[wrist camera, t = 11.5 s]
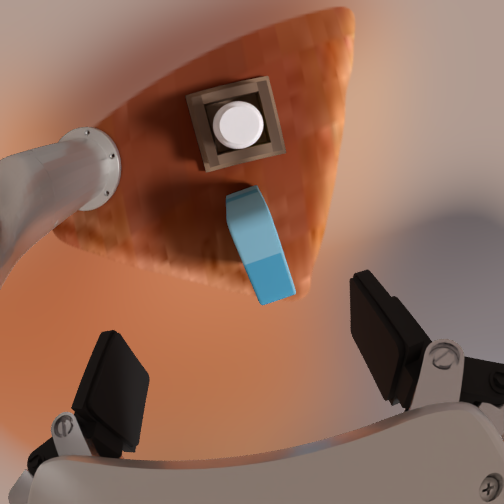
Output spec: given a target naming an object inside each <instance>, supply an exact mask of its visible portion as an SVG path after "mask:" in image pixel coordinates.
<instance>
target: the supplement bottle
mask: <svg viewBox="0 0 504 504" xmlns="http://www.w3.org/2000/svg"><path fill="white" fill-rule="evenodd" d="M213 130H214V134H215V136H216V138H217V139H218V140H219V141H220V142H221V143H222V144H223V145H225V146H227V147H229V148H233V149H243V148H246V147H249V146H251V145H252V144H254V143H255V142H256V141H257V140H258V139H259V137H260V136H261V134H262V131H263V119H262V116H261V114H260V112H259V111H258V110H257V108H255V107H254V106H253V105H251V104H249V103H247V102H243V101H235V102H230V103H228V104H226V105H224V106H223V107H221V108H220V109H219V110H218V112H217V113H216V115H215V117H214V120H213Z"/></svg>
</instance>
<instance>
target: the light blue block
mask: <svg viewBox="0 0 504 504" xmlns="http://www.w3.org/2000/svg"><path fill="white" fill-rule="evenodd" d="M226 218H227V224H228V228H229V231H230V233H231V236H232V238H233V241H234V243H235V246H236V248H237V251H238V253H239V255H240V258H241V260H242V263H243V265H244V267H245V270H246V272H247V274H248V277H249V279H250V282H251V284H252V286H253V289H254V291H255V293H256V296H257V298H258V301H259V303H260V304H261V305H265V304H268V303H271V302H274V301H277V300H280V299H283V298H286V297H289V296H292V295H294V294H296V290H295V287H294V284H293V281H292V277H291V274H290V271H289V268H288V265H287V262H286V259H285V256H284V253H283V250H282V247H281V243H280V240H279V237H278V234H277V231H276V228H275V225H274V222H273V220H272V217H271V214H270V211H269V209H268V206H267V204H266V202H265V200H264V198H263V196H262V194H261V192H260V190H259V188H258V186H257V185H255V186H252V187H249V188H246V189H243V190H241V191H238V192H235V193H232V194H230V195H227V196H226Z"/></svg>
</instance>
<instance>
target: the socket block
mask: <svg viewBox="0 0 504 504" xmlns="http://www.w3.org/2000/svg"><path fill="white" fill-rule="evenodd" d="M185 97H186V101H187V105H188V108H189V112H190V116H191V119H192V123H193V127H194V130H195V134H196V138H197V141H198V145H199V148H200V152H201V156H202V159H203V163H204V166H205V170H206V173H207V172H210V171H214V170H218V169H221V168H225V167H229V166H233V165H237V164H241V163H245V162H249V161H253V160H257V159H261V158H266V157H270V156H275V155H279V154H284V153H286V149H285V145H284V140H283V136H282V131H281V127H280V122H279V118H278V114H277V109H276V105H275V101H274V97H273V93H272V89H271V85H270V81H269V77H268V76H265V77H259V78H254V79H249V80H244V81H239V82H235V83H230V84H226V85H222V86H218V87H214V88H210V89H207V90H203V91H199V92H196V93H192V94H189V95H186V96H185ZM235 101H243V102H247V103H249V104H251V105H253V106H254V107H255V108H257V110H258V111H259V112H260V114H261V116H262V119H263V131H262V134H261V136H260V137H259V139H258V140H257V141H256V142H255V143H254V144H252V145H251V146H249V147H246V148H243V149H233V148H229V147H227V146H225V145H223V144H222V143H221V142H220V141H219V140H218V139H217V138H216V136H215V134H214V130H213V120H214V117H215V115H216V113H217V112H218V110H219V109H220V108H221V107H223V106H224V105H226V104H228V103H230V102H235Z"/></svg>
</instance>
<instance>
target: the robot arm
mask: <svg viewBox="0 0 504 504" xmlns="http://www.w3.org/2000/svg"><path fill="white" fill-rule="evenodd" d="M89 131H90V134H89ZM113 154H114V155H115V157H113ZM120 176H121V159H120V155H119V151H118V149H117V147H116V145H115V143H114V142H113V140H112V139H111V138H110V137H109V136H108V135H107V134H106V133H105V132H103V131H101V130H99V129H96V128H93V127H81V128H77V129H73V130H72V131H70V132H68V133H67V134H65V135H64V136H63V137H62V138H61V139H60V141H59V142H58V143H54V144H50V145H46V146H42V147H38V148H35V149H31V150H28V151H24V152H20V153H17V154H14V155H10V156H8V157H6V158H4V159H2V160H0V289H1V287H2V285H3V283H4V282H5V280H6V278H7V276H8V275H9V273H10V271H11V270H12V268H13V267H14V265H15V264H16V263H17V262H18V260H19V259H20V258H21V257H22V256H23V255H24V254H25V253H26V252H27V251H28V250H29V249H30V248H31V247H32V246H33V245H34V244H35V243H36V242H38V241H39V240H40V239H41V238H42V237H44V236H45V235H46V234H47V233H49V232H50V231H51V230H52V229H54V228H55V227H56V226H57V225H59V224H60V223H61V222H62V221H64V220H65V219H66V218H68V217H69V216H70V215H72V214H73V213H74V212H76V211H77V210H82V211H87V210H92V209H96V208H98V207H100V206H101V205H103V204H104V203H105V202H107V201H108V200H109V199H110V198H111V197H112V195H113V194H114V192H115V191H116V188H117V186H118V184H119V180H120ZM107 191H108V192H109V193H108V192H107ZM350 308H351V309H350V311H351V334H352V337H353V339H354V341H355V342H356V344H357V346H358V348H359V350H360V352H361V354H362V356H363V358H364V360H365V362H366V364H367V366H368V368H369V370H370V372H371V374H372V376H373V378H374V380H375V382H376V384H377V386H378V388H379V390H380V392H381V394H382V396H383V398H384V400H385V401H387V400H389V401H390V403H391V405H392V406H393V405H395V404H398V403H400V404H401V406H402V407H403V408H405V410H404V412H403V413H401V414H398V415H395V416H393V417H390V418H387V419H384V420H381V421H379V422H376V423H373V424H371V425H368V426H365V427H362V428H360V429H357V430H353V431H350V432H347V433H344V434H340V435H337V436H334V437H331V438H327V439H324V440H320V441H316V442H312V443H308V444H304V445H300V446H296V447H292V448H287V449H282V450H277V451H271V452H266V453H260V454H253V455H246V456H239V457H230V458H220V459H208V460H189V461H147V460H130V459H124V457H123V456H122V450H123V451H124V452H135V449H136V446H137V445H138V444H139V439H140V432H141V426H142V419H143V413H144V408H145V402H146V396H147V391H148V386H149V375H148V373H147V371H146V370H145V369H144V367H143V366H142V365H141V363H140V362H139V361H138V359H137V358H136V356H135V355H134V353H133V352H132V351H131V349H130V348H129V346H128V345H127V343H126V342H125V340H124V339H123V337H122V336H121V334H119V333H117V332H116V331H114V330H111V331H105V332H102V333H101V334H100V336H99V339H98V341H97V343H96V345H95V348H94V350H93V352H92V355H91V357H90V360H89V362H88V365H87V367H86V369H85V372H84V375H83V377H82V380H81V382H80V385H79V388H78V390H77V393H76V396H75V399H74V402H73V404H72V407H71V408H72V409H73V410H74V411H75V413H74V415H73V414H72V413H70V412H64V413H61V414H60V415H58V416H57V417H56V418H55V420H54V421H53V423H52V427H51V433H52V437H51V438H50V439H49V440H47V441H46V442H45V443H43V444H42V445H41V446H39V447H38V448H37V449H36V450H34V451H33V452H32V453H31V454H30V456H29V458H28V462H27V466H28V470H29V471H28V470H27V469H25V471H24V472H23V473H22V475H21V476H20V477H19V479H18V480H17V482H16V483H15V484H14V486H13V487H12V489H11V490H10V492H9V496H8V499H9V503H10V504H504V364H501V363H495V362H490V361H484V360H480V359H474V358H470V357H465V356H464V352H463V350H462V348H461V347H460V346H459V345H458V344H457V343H456V342H454V341H452V340H449V339H439V340H435V341H434V342H432V341H431V340H430V338H429V337H428V336H427V334H426V333H425V332H424V330H423V329H422V328H421V327H420V325H419V324H418V323H417V321H416V320H415V319H414V318H413V316H412V315H411V314H410V312H409V311H408V310H407V309H406V308H405V306H404V305H403V304H402V303H401V301H400V300H399V299H398V298H397V297H395V296H393V297H391V296H390V295H389V293H388V292H387V291H386V290H385V289H384V287H383V286H382V285H381V284H380V283H379V282H378V280H377V279H376V278H375V277H374V275H373V274H372V273H371V272H370V271H369V270H364V271H362V272H358V273H355V274H354V276H353V278H351V279H350ZM499 434H500V435H501V436H500V435H499ZM501 437H502V438H501ZM502 439H503V440H502Z"/></svg>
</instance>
